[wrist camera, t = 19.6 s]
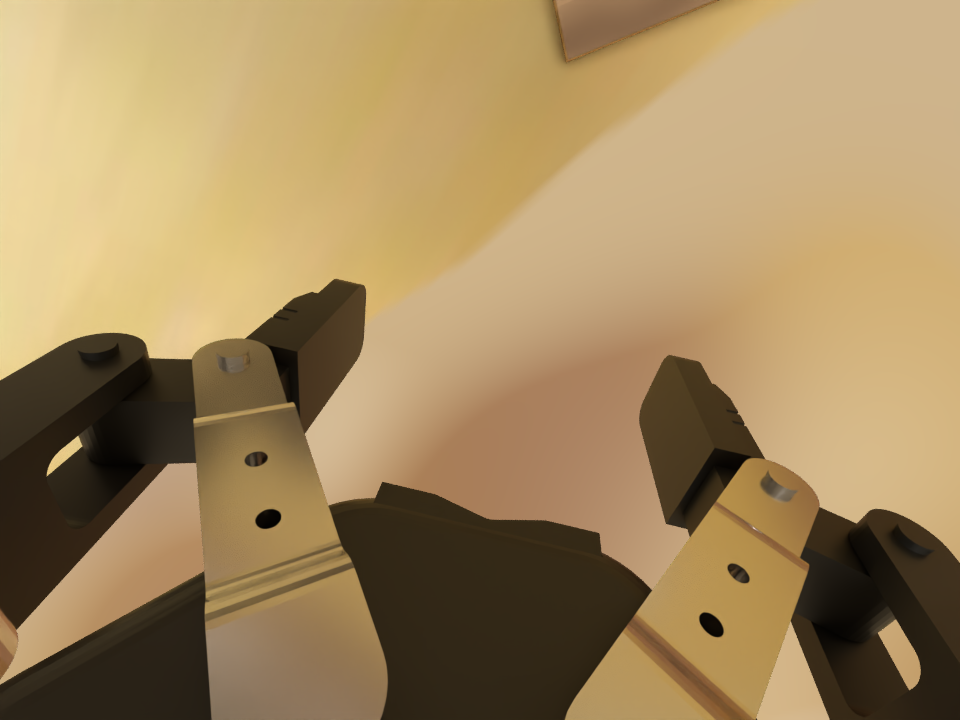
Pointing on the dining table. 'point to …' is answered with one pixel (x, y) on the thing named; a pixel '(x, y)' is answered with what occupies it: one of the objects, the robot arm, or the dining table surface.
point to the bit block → (613, 20)
